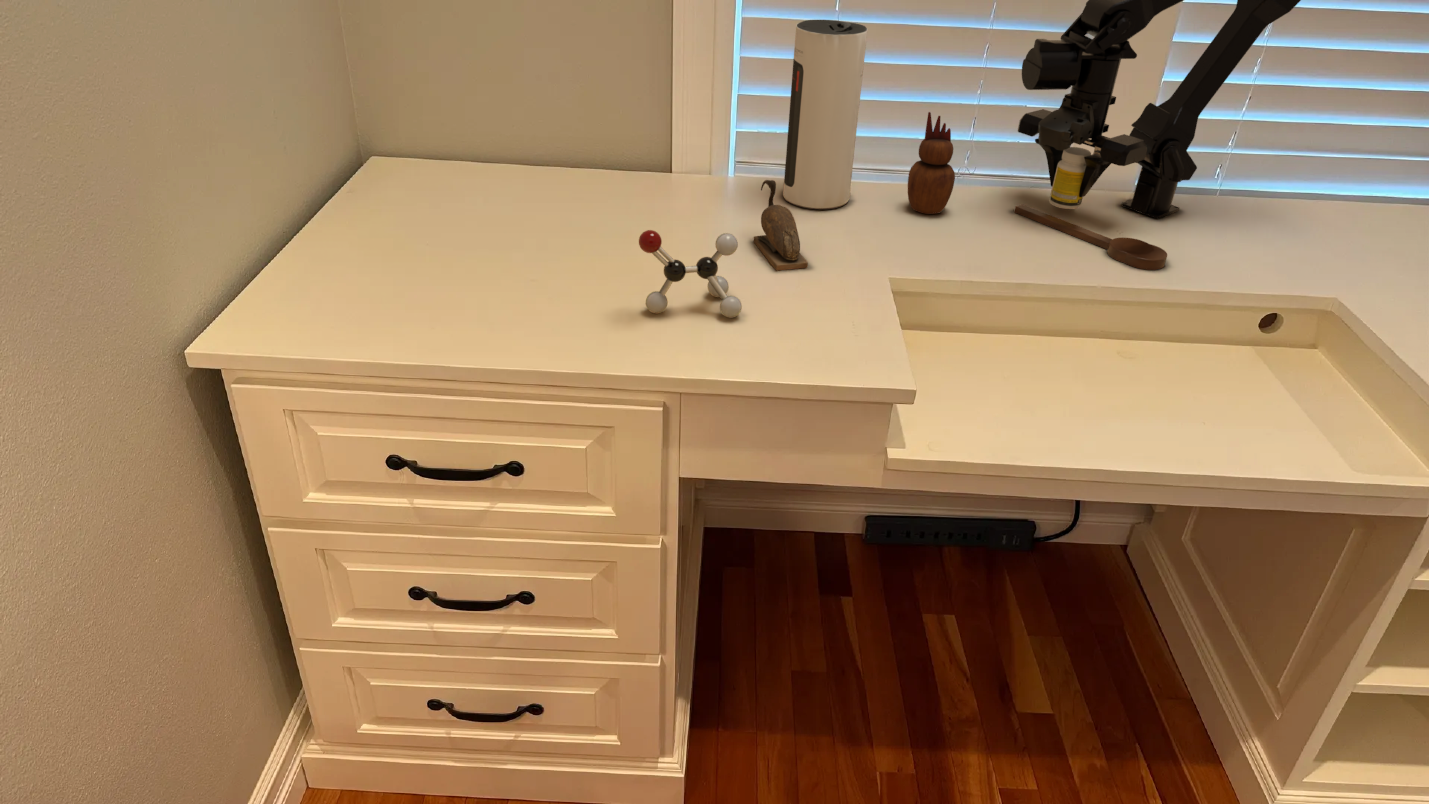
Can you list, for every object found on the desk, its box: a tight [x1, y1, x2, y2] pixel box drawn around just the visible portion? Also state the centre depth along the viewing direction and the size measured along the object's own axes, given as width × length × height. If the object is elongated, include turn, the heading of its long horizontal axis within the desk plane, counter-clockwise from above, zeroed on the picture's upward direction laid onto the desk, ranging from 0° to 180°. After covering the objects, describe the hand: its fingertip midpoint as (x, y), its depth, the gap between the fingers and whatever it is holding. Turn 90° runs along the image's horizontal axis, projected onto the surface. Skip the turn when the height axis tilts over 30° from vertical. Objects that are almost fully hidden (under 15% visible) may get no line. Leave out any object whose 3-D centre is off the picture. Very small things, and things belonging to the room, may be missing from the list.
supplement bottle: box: [1048, 146, 1092, 210], centre depth 150 cm, size 5×5×8 cm
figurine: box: [753, 179, 809, 271], centre depth 135 cm, size 14×4×9 cm, turn 17°
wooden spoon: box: [1013, 203, 1168, 271], centre depth 144 cm, size 24×6×2 cm, turn 38°
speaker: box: [782, 19, 869, 210], centre depth 147 cm, size 11×10×26 cm
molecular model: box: [638, 229, 743, 319], centre depth 118 cm, size 8×12×11 cm
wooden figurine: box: [907, 111, 956, 215], centre depth 147 cm, size 7×6×15 cm
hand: (1067, 191), depth 151 cm, fingers closed on supplement bottle, 5 cm apart
